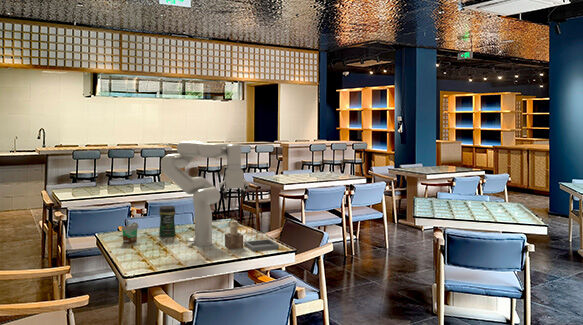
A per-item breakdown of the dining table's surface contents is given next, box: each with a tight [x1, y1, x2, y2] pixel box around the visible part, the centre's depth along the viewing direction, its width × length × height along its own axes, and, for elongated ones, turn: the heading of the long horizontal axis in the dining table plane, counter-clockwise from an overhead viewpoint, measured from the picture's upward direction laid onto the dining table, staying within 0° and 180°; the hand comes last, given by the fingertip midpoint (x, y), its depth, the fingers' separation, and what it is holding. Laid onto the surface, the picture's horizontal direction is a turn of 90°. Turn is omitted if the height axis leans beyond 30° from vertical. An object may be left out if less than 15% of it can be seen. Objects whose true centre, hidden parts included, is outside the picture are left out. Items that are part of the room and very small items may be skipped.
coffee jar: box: [158, 205, 176, 238], centre depth 286 cm, size 10×8×19 cm
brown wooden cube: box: [224, 232, 244, 251], centre depth 257 cm, size 8×8×8 cm
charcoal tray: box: [243, 238, 280, 252], centre depth 258 cm, size 15×14×3 cm
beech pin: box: [229, 220, 239, 236], centre depth 256 cm, size 4×4×14 cm
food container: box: [121, 222, 140, 244], centre depth 272 cm, size 12×6×10 cm, turn 168°
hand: (234, 198), depth 255 cm, fingers open, 9 cm apart
